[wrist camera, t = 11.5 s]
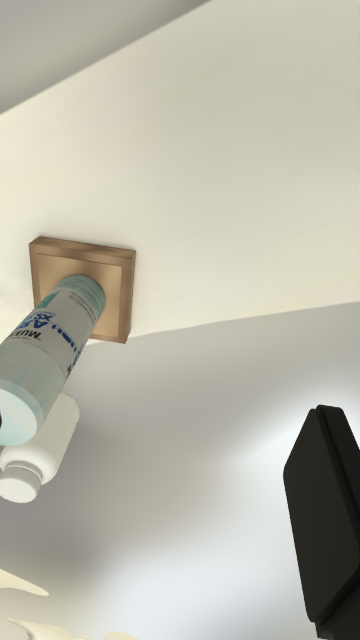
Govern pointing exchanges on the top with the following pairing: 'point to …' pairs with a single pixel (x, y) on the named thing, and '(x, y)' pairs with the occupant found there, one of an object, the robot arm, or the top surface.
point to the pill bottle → (38, 453)
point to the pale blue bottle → (45, 355)
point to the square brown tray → (92, 261)
